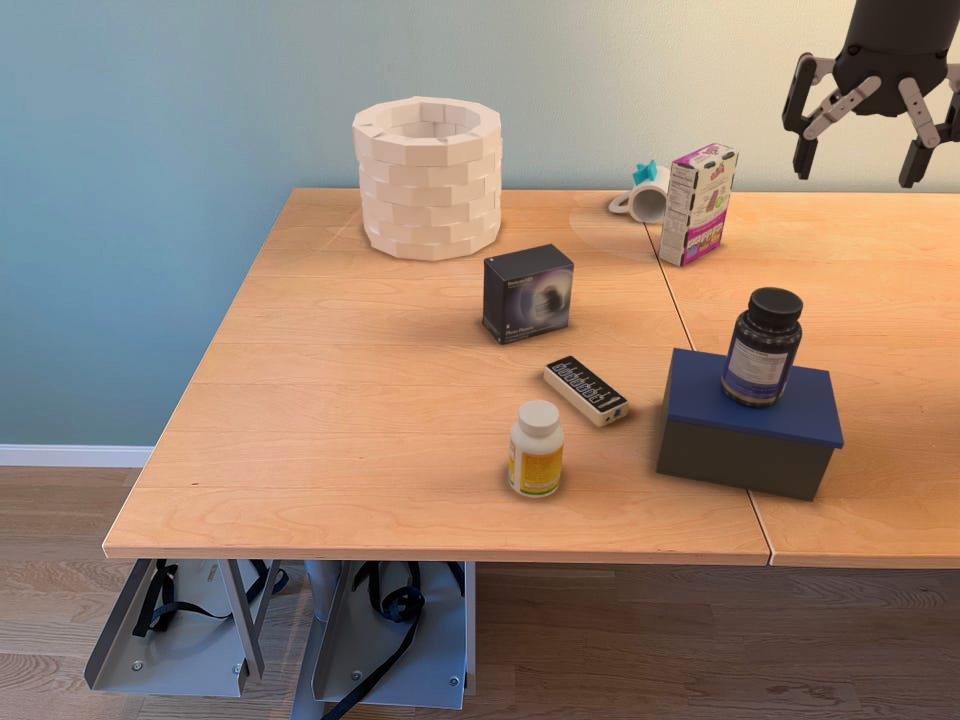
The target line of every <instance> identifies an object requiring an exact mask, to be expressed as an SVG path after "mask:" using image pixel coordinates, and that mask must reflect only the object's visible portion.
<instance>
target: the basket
mask: <svg viewBox="0 0 960 720" xmlns="http://www.w3.org/2000/svg"><path fill="white" fill-rule="evenodd" d="M351 129H352V138H353V147H354V153H355V154H354V155H355V160H357V161H358V163H359V166H358V174H359V175H358V177H359V179H358V184H359V192H360V199H361V201H362V202H361V211H362V222H363V230H364V231H365V233H366V235H367V237H368V239H369V242H370V243H371V244H370V245H371V247H372V248H374V249H376V250H379V251H380V252H383V253H386V254H388V255H390V256H393V257H395V258H397V259H405V260H419V261H429V262H436V261H437V262H438V261H442V260H447V259H454V258H459V257H466V256H471V255H473V254H474V253H476V252H478V251H480V250H481V249H483V248H485V247H487V246H488V245H490V244H492V243H495V242H496V238H497V236H498V233H499V230H500V228H501V221H502V219H501V218H502V217H501V216H502V210H501V195H502V181H503V180H502V178H503V177H502V166H503V164H502V161H501V160H502V158H503V151H504V149H503V147H504V146H503V144H504V139H503V137H502V122H501V114H500V112H498V111H497V110H494V109H492V108H490V107H488V106H486V105H484V104H482V103H479V102H474V101H468V100H462V99H456V98H450V97H445V98H444V97H433V96H422V95H421V96H419V95H413V96H412V97H409V98H404V99H398V100H391V101H386V102H381V103H376V104H374V105H372V106H370V107H368V108H365V109H363V110H361V111H358V112H356V113H355V116H354V120H353V122H352V125H351Z"/></svg>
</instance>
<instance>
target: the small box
mask: <svg viewBox="0 0 960 720" xmlns="http://www.w3.org/2000/svg"><path fill="white" fill-rule="evenodd" d="M574 270H575V262H573V260H571V259H570V258H569V257H568V256H566V254H565V253H563V252H562V251H561V250H560V249H559V248H558V247H556V246H555V245H554V244H553V243H547V244H543V245H539V246H535V247H529V248H525V249H520V250H517V251H512V252H507V253H503V254H499V255H494V256H489V257H485V258H483V293H482V320H481V325H482V326H483V327H485V329H486V330H487V331H488V332H489V333H490V334H491V336H492V337H493V338H494V339H495V341H496V342H497V343H499V345H501V346H504V345H509V344H512V343H515V342H520V341H523V340H527V339H530V338H534V337H538V336H541V335H545V334H548V333H549V334H550V333H552V332H557V331H560V330H563V329H566V328H568V327H569V319H570V309H571V298H572V290H573V279H574Z"/></svg>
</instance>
